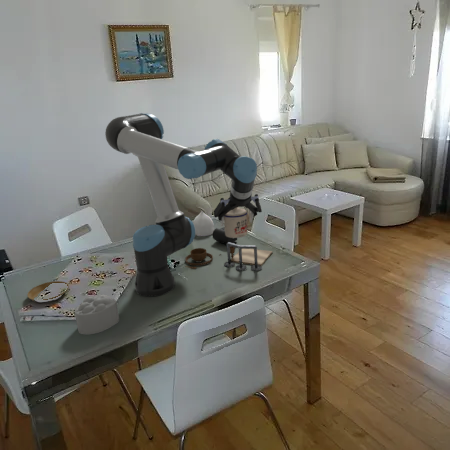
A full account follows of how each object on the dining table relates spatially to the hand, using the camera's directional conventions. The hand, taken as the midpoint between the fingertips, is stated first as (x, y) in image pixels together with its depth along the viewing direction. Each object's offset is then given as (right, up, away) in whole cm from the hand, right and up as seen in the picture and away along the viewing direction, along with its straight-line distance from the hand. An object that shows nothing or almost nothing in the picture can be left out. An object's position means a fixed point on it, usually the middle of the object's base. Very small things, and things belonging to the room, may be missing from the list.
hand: (236, 221), depth 163 cm
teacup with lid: (+1, -5, -1) cm, 5 cm away
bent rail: (+3, -19, +8) cm, 21 cm away
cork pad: (+7, -15, +17) cm, 24 cm away
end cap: (-4, -10, +34) cm, 36 cm away
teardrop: (-15, -5, +50) cm, 53 cm away
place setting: (-12, -18, +16) cm, 27 cm away
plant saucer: (-71, -29, -4) cm, 77 cm away
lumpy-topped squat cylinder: (-46, -35, -25) cm, 63 cm away
